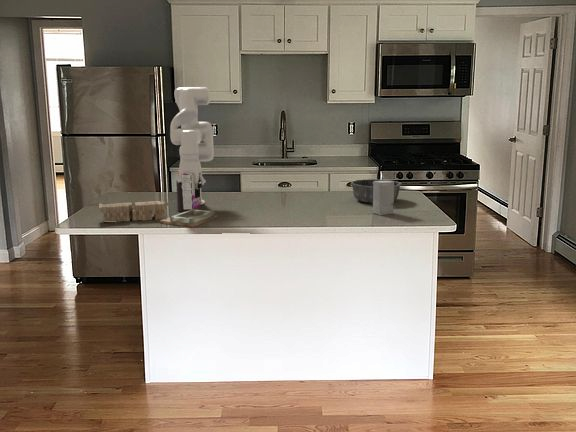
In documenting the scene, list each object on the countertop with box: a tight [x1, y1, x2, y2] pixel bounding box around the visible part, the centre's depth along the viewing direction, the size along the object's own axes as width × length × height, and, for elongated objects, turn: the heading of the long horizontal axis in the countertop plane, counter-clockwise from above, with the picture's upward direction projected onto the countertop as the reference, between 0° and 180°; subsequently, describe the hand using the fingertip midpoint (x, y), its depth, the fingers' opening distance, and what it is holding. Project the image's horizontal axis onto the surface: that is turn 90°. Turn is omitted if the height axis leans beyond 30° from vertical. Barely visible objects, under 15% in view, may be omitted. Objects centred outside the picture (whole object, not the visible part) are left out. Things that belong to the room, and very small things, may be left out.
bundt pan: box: [350, 178, 402, 204], centre depth 332 cm, size 26×26×10 cm
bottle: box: [175, 169, 189, 213], centre depth 309 cm, size 7×7×20 cm
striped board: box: [159, 209, 218, 228], centre depth 289 cm, size 18×20×3 cm
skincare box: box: [372, 180, 395, 216], centre depth 301 cm, size 8×7×16 cm
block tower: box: [98, 200, 166, 222], centre depth 291 cm, size 8×8×29 cm
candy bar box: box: [181, 173, 202, 210], centre depth 285 cm, size 11×5×16 cm, turn 168°
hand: (191, 196), depth 286 cm, fingers closed on candy bar box, 5 cm apart
